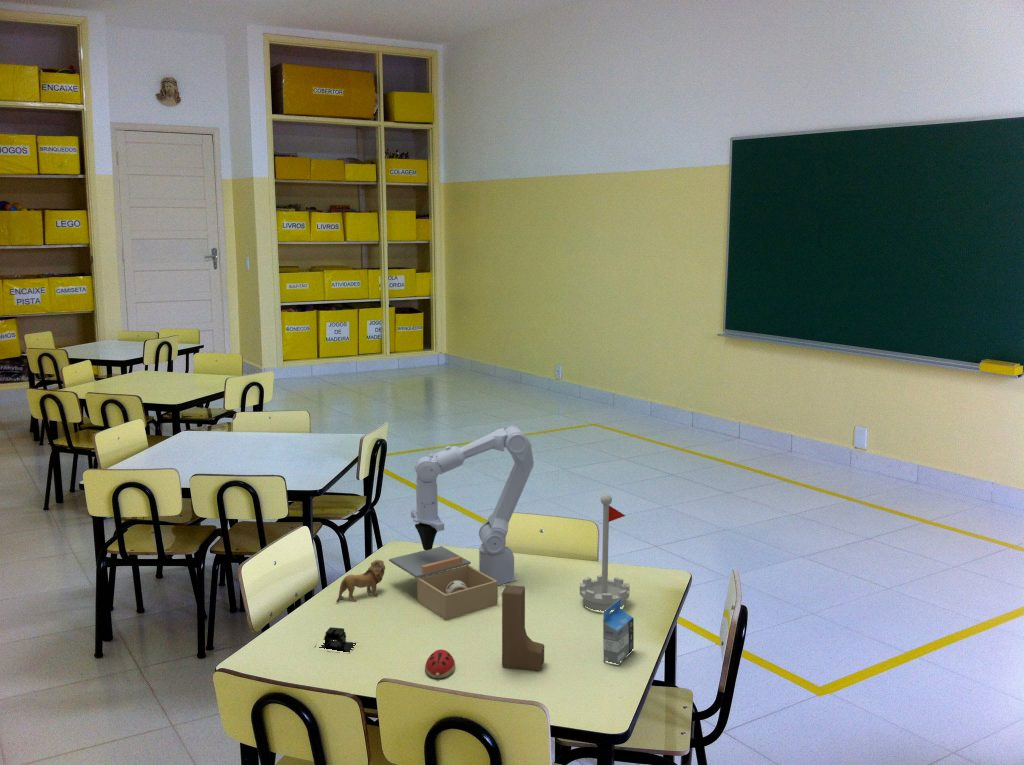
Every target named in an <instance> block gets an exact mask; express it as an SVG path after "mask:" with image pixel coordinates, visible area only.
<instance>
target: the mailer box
mask: <svg viewBox="0 0 1024 765" xmlns="http://www.w3.org/2000/svg"><path fill="white" fill-rule="evenodd" d="M416 579H417V580H416V581H417V582H416V583H417V586H416V587H417V588H416V589H417V602H418V603H420V604H421V605H422V606H423V607H425V608H426V609H428V610H429V611H431V612H432V613H433V614H436V615H437V616H439V617H440V618H442V619H443V620H444V621H448V620H451V619H455V618H457V617H458V618H459V617H461V616H465V615H467V614H471V613H474V612H477V611H481V610H484V609H488V608H491V607H495V606H498V605H499V602H498V598H499V597H498V596H499V595H498V594H499V593H498V592H499V591H498V590H499V589H498V587H499V585H498V581H496V580H494V579H493V578H491V577H489V576H487V575H485V574H484V573H482V572H480V571H479V569H476V568H474V567H473V566H470V564H469V565H465V566H461V567H457V568H454V569H450V570H446V571H442V572H438V573H434V574H431V575H427V576H423V577H419V578H416ZM457 580H458V581H462V582H463V583H464V584H465V585H466V586H467V588H468V589H464V590H461V591H457V592H453V593H450V594H446V588H447V586H448V585H449V584H450V583H451V582H453V581H457Z"/></svg>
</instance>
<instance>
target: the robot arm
mask: <svg viewBox="0 0 1024 765" xmlns="http://www.w3.org/2000/svg"><path fill="white" fill-rule="evenodd" d="M532 447H533V446H532V443H531V442H530V440H529V438H528V437H527V435H526V434H525V433H524V432H523V430H522V429H521V428H520V427H519V425H518V426H517V425H516V424H510V425H507V426H505V427H504V428H497V429H496V430H494V431H492V432H490V433H488V434H486V435H484V436H483V437H481V438H478V439H475V440H474V441H471V442H470V443H468V444H465V445H463V446H462V447H458V446H456V445H453V446H450V445H447V446H445V449H444V450H441V451H438V452H436V453H434V454H433V453H430V454H428V455H429V456H422V457H420V458H418V460H417V461H416V463H415V466H414V469H415V473H416V485H415V492H416V495H415V496H416V509H414V510H411V511H410V518H411V519H412V520H413V521H412V522H414V523H416V524H414V528H415V530H417V533H418V535H419V538H420V541H421V546H422V549H423V551H424V550H430V549H432V548H433V547H434V542H435V539H436V536H437V533H438V532H442V531H445V522H443V521H442V520H441V518H440V517H439V513H438V512H439V510H438V505H439V502H438V484H437V478H438V477H439V475H442V474H444V473H447V472H450V471H452V470H454V469H456V468H460V467H461V466H463V464H464V462H465V460H466V459H469V458H471V457H474V456H478V455H480V454H482V453H485V452H487V451H491V450H496V451H500V452H505V448H506V450H507V451H508V453H509V454H510V455H511V458H512V460H513V462H514V463H513V466H512V468H511V470H510V472H509V475H508V477H507V480H506V482H505V484H504V487H503V489H502V491H501V494H500V496H499V497H498V500H497V503H496V505H495V508H494V509H493V511H492V514H490V515H489V516H488V518H487V520H486V522H485V523H483V524H482V526H481V527H480V528H479V530H478V536H479V538H480V541H481V545H480V547H479V549H478V554H479V556H478V557H479V558H478V559H479V562H478V563H479V565H478V567H479V568H478V571H480V572H482V573H484V574H485V575H487V576H489V577H491V578H493V579H494V580H496V581H498V586H500V585H503V584H507V583H510V582H514V581H516V580H517V579H516V577H515V555H514V552H513V550H512V549H511V548H510V547H509V546H506V545H507V544H506V537H507V534H508V532H509V523H510V520H511V518H512V517H513V514H514V511H515V509H516V507H517V504H518V502H519V500H520V498H521V495H522V493H523V491H524V488H525V486H526V485H527V482H528V479H529V477H530V475H531V472H532V471H533V468H534V465H535V463H534V462H535V461H534V457H533V450H532Z"/></svg>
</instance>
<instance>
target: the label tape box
mask: <svg viewBox="0 0 1024 765" xmlns="http://www.w3.org/2000/svg"><path fill="white" fill-rule="evenodd" d="M620 603H621V599H620V600H618V601H617V602H616V603H614V604H613V605H612V606H610V607H609V608H608V609H607V610H606V611H604V613H603V619H602V623H603V626H602V628H603V629H602V634H603V635H602V638H603V640H602V642H603V644H602V645H603V647H602V648H603V662H604V661H608V662H612V663H616V664H619V663H620V661H622V660H623V659H624V658H625V657H626V656H627V655H628V654H629V653H630V652H631V651H632V649H634V647H635V644H634V640H635V637H634V636H635V635H634V632H635V630H634V628H635V626H634V623H635V622H634V621H635V620H634V619H635V618H634V617H633V616H632V615H630V614H629V613H627V612H626V611H625V610H624V609H620ZM612 608H613V609H614V608H615V609H614V611H613V612H611V613H609V612H610V611H611V610H612ZM634 650H635V649H634ZM632 652H633V651H632ZM632 652H631V653H632ZM631 653H630V654H631ZM630 654H629V655H630ZM629 655H628V656H629ZM628 656H627V657H628ZM627 657H626V658H627ZM626 658H625V659H626ZM625 659H624V660H625ZM624 660H623V661H624ZM623 661H622V662H623ZM620 664H621V663H620ZM620 664H619V665H620Z"/></svg>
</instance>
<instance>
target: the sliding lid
mask: <svg viewBox="0 0 1024 765" xmlns="http://www.w3.org/2000/svg"><path fill="white" fill-rule="evenodd" d="M388 561H389V562H391V563H392V564H393V565H395V566H397V567H398V568H400V569H401V570H403V571H404V572H406V573H408V574H410V575H411V576H413V577H414V578H416V579H417V578H420V577H424V576H428V575H432V574H435V573H439V572H443V571H447V570H451V569H455V568H458V567H462V566H466V565H469V566H470V565H472V564H471V560H467V559H466V558H464V557H462V556H460V555H459V554H457V553H455V552H453V551H452V550H449V549H448V548H445V547H444V546H442V545H441V546H437V547H434V548H433V547H432V549H430V550H424V549H423V550H422V551H421V550H420V551H416V552H412V553H409V554H405V555H400V556H395V557H391V558H389V559H388Z"/></svg>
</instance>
